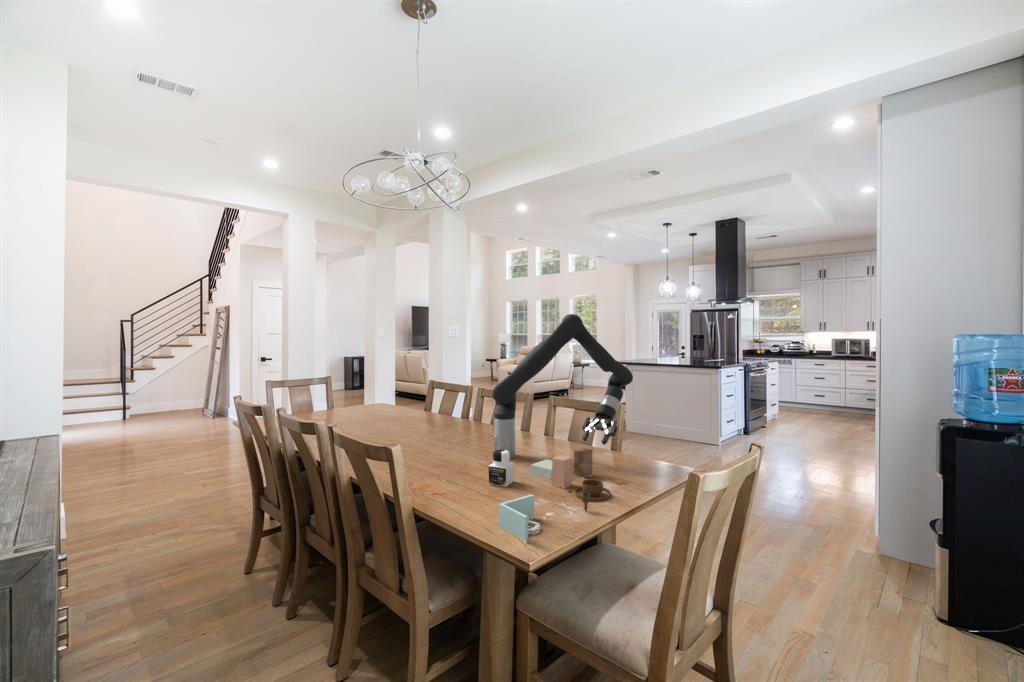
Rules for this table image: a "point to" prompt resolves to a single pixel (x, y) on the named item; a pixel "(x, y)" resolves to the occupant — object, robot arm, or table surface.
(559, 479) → the terracotta pillar
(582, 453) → the walnut pillar
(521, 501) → the l-shaped corner panel
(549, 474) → the sage base block
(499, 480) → the medicine bottle
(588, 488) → the place setting
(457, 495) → the table surface
